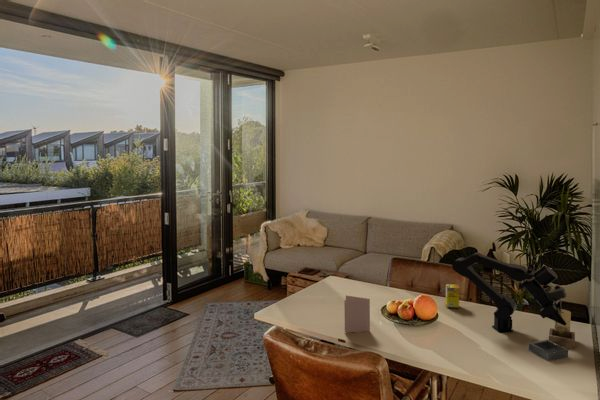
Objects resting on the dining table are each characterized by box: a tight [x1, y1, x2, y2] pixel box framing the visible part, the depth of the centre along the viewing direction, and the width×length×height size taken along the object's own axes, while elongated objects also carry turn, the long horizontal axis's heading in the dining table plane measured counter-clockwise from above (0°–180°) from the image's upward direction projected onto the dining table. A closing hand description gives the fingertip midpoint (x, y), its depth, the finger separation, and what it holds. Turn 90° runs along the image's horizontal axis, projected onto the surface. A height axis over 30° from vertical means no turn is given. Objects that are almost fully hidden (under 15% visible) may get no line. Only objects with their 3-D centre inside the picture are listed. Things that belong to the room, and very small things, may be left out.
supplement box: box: [444, 283, 460, 309], centre depth 222 cm, size 6×6×11 cm
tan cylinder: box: [553, 308, 572, 338], centre depth 179 cm, size 6×6×11 cm
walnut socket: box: [548, 327, 576, 349], centre depth 180 cm, size 9×9×4 cm
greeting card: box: [343, 295, 371, 333], centre depth 194 cm, size 11×7×15 cm, turn 62°
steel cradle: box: [527, 339, 569, 362], centre depth 170 cm, size 10×10×3 cm
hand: (566, 322), depth 178 cm, fingers closed on tan cylinder, 5 cm apart
